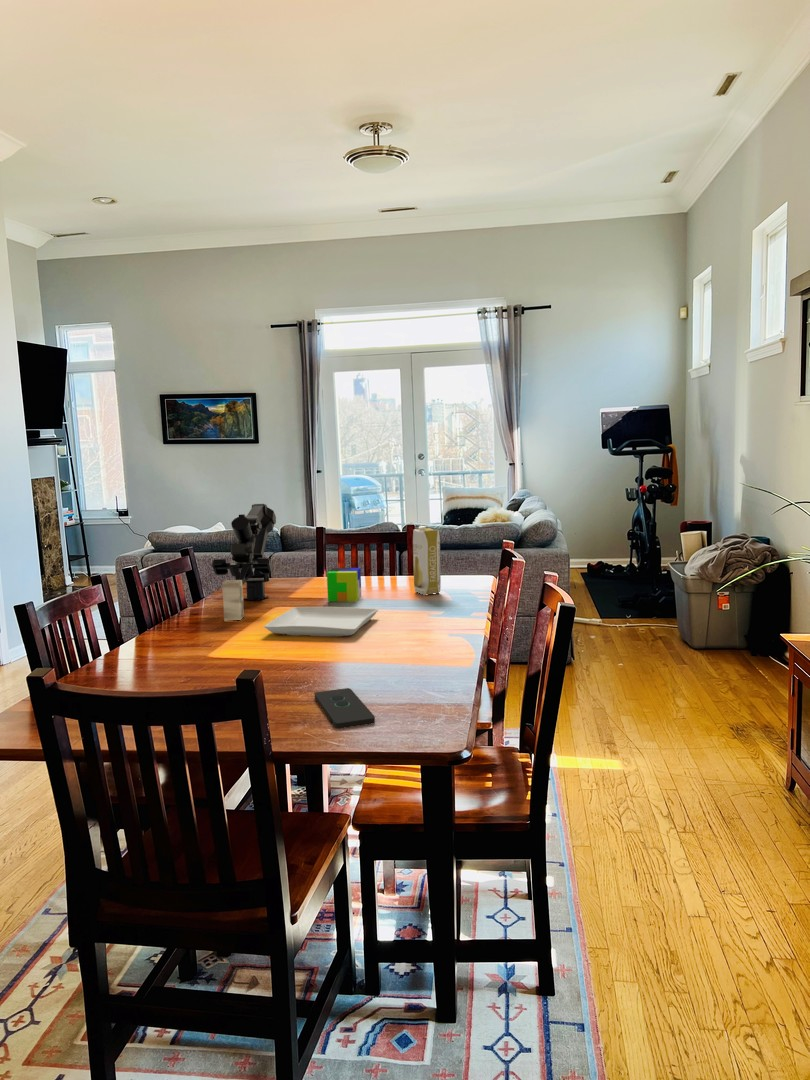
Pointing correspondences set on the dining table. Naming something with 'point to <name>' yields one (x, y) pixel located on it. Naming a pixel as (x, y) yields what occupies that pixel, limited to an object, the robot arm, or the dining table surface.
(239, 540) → the robot arm
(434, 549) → the juice carton
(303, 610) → the square plate
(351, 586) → the puzzle toy
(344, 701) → the smart home device
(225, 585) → the metal block
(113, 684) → the dining table surface
